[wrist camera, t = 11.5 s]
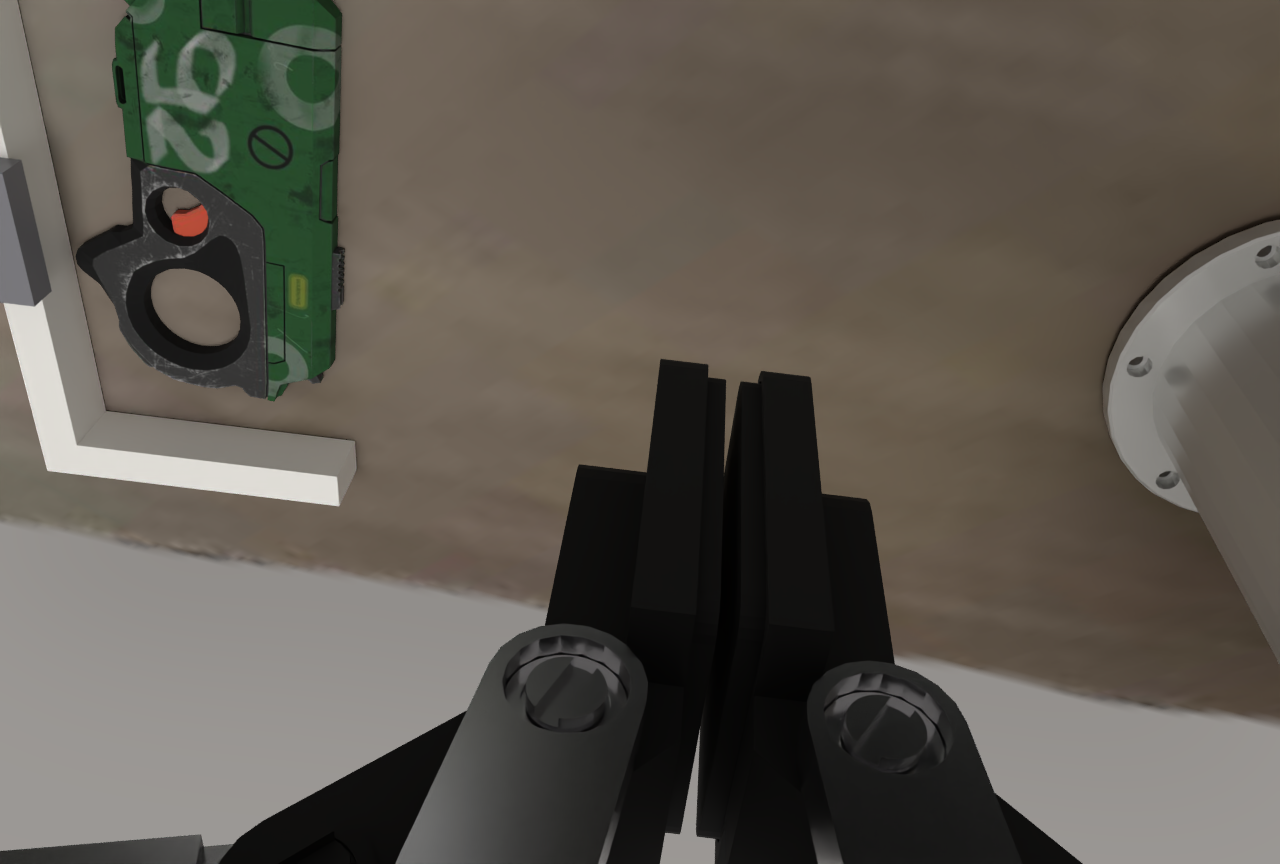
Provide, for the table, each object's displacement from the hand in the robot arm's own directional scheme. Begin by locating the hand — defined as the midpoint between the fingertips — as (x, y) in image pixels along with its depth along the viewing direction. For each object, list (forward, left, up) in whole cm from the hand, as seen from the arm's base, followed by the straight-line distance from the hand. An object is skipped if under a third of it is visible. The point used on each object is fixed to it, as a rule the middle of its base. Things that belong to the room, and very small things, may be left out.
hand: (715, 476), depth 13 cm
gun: (+18, +10, -28) cm, 34 cm away
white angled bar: (+19, +11, -27) cm, 35 cm away
